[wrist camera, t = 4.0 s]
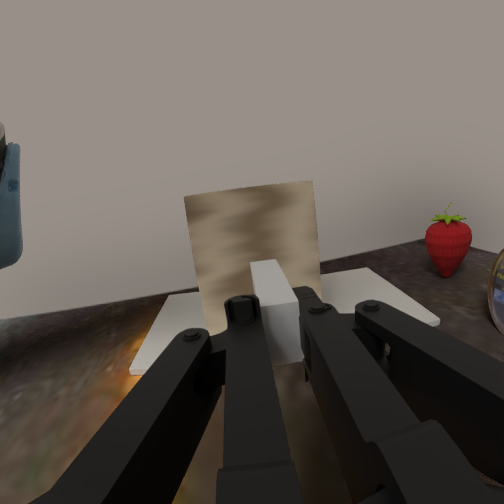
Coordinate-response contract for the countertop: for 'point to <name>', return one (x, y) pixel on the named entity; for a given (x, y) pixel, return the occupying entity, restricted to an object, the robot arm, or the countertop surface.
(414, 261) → the countertop surface
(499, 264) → the tin
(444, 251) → the strawberry
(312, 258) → the board
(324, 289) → the mat
